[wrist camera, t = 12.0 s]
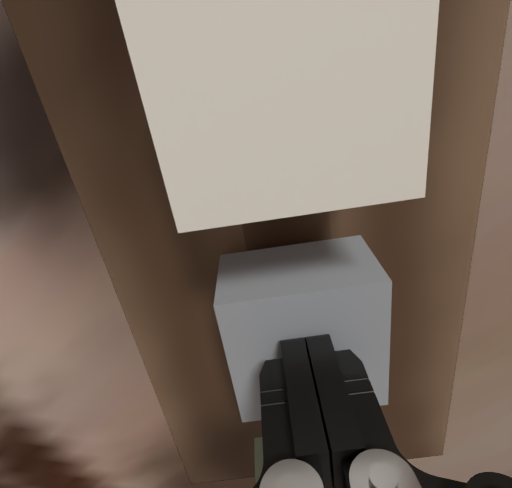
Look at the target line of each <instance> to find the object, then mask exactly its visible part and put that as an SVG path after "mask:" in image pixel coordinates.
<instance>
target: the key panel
mask: <svg viewBox="0 0 512 488" xmlns="http://www.w3.org/2000/svg"><path fill="white" fill-rule="evenodd" d="M2 3H3V5H4V8H5V11H6V13H7V16H8V18H9V21H10V23H11V26H12V28H13V31H14V33H15V36H16V39H17V41H18V44H19V46H20V49H21V51H22V54H23V56H24V59H25V62H26V64H27V67H28V69H29V72H30V74H31V77H32V79H33V82H34V84H35V87H36V90H37V92H38V95H39V97H40V100H41V102H42V105H43V107H44V110H45V112H46V115H47V118H48V120H49V123H50V125H51V128H52V130H53V133H54V135H55V138H56V141H57V143H58V146H59V148H60V151H61V153H62V156H63V158H64V161H65V163H66V166H67V169H68V171H69V174H70V176H71V179H72V181H73V184H74V186H75V189H76V191H77V194H78V197H79V199H80V202H81V204H82V207H83V209H84V212H85V214H86V217H87V220H88V222H89V225H90V227H91V230H92V232H93V235H94V237H95V240H96V242H97V245H98V248H99V250H100V253H101V255H102V258H103V260H104V263H105V265H106V268H107V270H108V273H109V276H110V278H111V281H112V283H113V286H114V288H115V291H116V293H117V296H118V299H119V301H120V304H121V306H122V309H123V311H124V314H125V316H126V319H127V321H128V324H129V327H130V329H131V332H132V334H133V337H134V339H135V342H136V344H137V347H138V349H139V352H140V355H141V357H142V360H143V362H144V365H145V367H146V370H147V372H148V375H149V378H150V380H151V383H152V385H153V388H154V390H155V393H156V395H157V398H158V400H159V403H160V406H161V408H162V411H163V413H164V416H165V418H166V421H167V423H168V426H169V428H170V431H171V434H172V436H173V439H174V441H175V444H176V446H177V449H178V451H179V454H180V457H181V459H182V462H183V464H184V467H185V469H186V472H187V474H188V477H189V479H190V482H191V484H196V483H204V482H213V481H222V480H231V479H239V478H248V477H255V452H254V438H259V437H262V422H261V420H259V421H251V422H242V419H241V415H240V411H239V407H238V403H237V399H236V395H235V391H234V387H233V383H232V379H231V375H230V371H229V367H228V363H227V359H226V355H225V351H224V347H223V343H222V339H221V335H220V330H219V326H218V322H217V318H216V314H215V310H214V306H213V305H214V298H215V290H216V283H217V275H218V268H219V260H220V255H224V254H231V253H238V252H245V251H252V250H259V249H266V248H273V247H280V246H287V245H294V244H301V243H308V242H315V241H322V240H329V239H336V238H343V237H350V236H357V235H361V236H362V238H363V239H364V241H365V242H366V244H367V245H368V247H369V248H370V250H371V251H372V253H373V254H374V256H375V257H376V259H377V260H378V261H379V263H380V264H381V266H382V267H383V269H384V270H385V272H386V273H387V275H388V276H389V278H390V279H391V281H392V301H391V332H390V362H389V392H388V405H382V406H380V407H381V410H382V412H383V415H384V417H385V420H386V422H387V425H388V427H389V430H390V432H391V435H392V437H393V440H394V442H395V444H396V446H397V448H398V450H399V451H400V453H401V454H402V455H403V457H404V458H405V459H413V458H422V457H430V456H439V455H443V450H444V443H445V436H446V429H447V423H448V416H449V409H450V402H451V396H452V389H453V382H454V376H455V369H456V362H457V355H458V349H459V342H460V335H461V329H462V322H463V315H464V308H465V302H466V295H467V288H468V281H469V275H470V268H471V261H472V255H473V248H474V241H475V234H476V228H477V221H478V214H479V208H480V201H481V194H482V187H483V181H484V174H485V167H486V160H487V154H488V147H489V140H490V134H491V127H492V120H493V113H494V107H495V100H496V93H497V87H498V80H499V73H500V66H501V60H502V53H503V46H504V39H505V33H506V26H507V19H508V13H509V6H510V0H440V1H439V14H438V28H437V41H436V55H435V69H434V82H433V96H432V109H431V123H430V137H429V150H428V164H427V178H426V191H425V197H424V198H417V199H410V200H404V201H397V202H390V203H383V204H376V205H369V206H362V207H355V208H349V209H342V210H335V211H328V212H321V213H314V214H307V215H300V216H294V217H287V218H280V219H273V220H266V221H259V222H252V223H245V224H239V225H232V226H225V227H218V228H211V229H204V230H197V231H191V232H184V233H178V231H177V228H176V224H175V220H174V217H173V213H172V209H171V206H170V202H169V198H168V195H167V191H166V187H165V183H164V180H163V176H162V172H161V169H160V165H159V161H158V158H157V154H156V150H155V147H154V143H153V139H152V136H151V132H150V128H149V125H148V121H147V117H146V114H145V110H144V106H143V103H142V99H141V95H140V92H139V88H138V84H137V81H136V77H135V73H134V70H133V66H132V62H131V58H130V55H129V51H128V47H127V44H126V40H125V36H124V33H123V29H122V25H121V22H120V18H119V14H118V11H117V7H116V3H115V0H2Z"/></svg>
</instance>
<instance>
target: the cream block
mask: <svg viewBox="0 0 512 488" xmlns="http://www.w3.org/2000/svg"><path fill="white" fill-rule="evenodd" d="M439 1H440V0H115V3H116V7H117V11H118V14H119V18H120V22H121V25H122V29H123V33H124V36H125V40H126V44H127V47H128V51H129V55H130V58H131V62H132V66H133V70H134V73H135V77H136V81H137V84H138V88H139V92H140V95H141V99H142V103H143V106H144V110H145V114H146V117H147V121H148V125H149V128H150V132H151V136H152V139H153V143H154V147H155V150H156V154H157V158H158V161H159V165H160V169H161V172H162V176H163V180H164V183H165V187H166V191H167V195H168V198H169V202H170V206H171V209H172V213H173V217H174V220H175V224H176V228H177V231H178V233H184V232H191V231H197V230H204V229H211V228H218V227H225V226H232V225H239V224H245V223H252V222H259V221H266V220H273V219H280V218H287V217H294V216H300V215H307V214H314V213H321V212H328V211H335V210H342V209H349V208H355V207H362V206H369V205H376V204H383V203H390V202H397V201H404V200H410V199H417V198H424V197H425V191H426V178H427V164H428V150H429V137H430V123H431V109H432V96H433V82H434V69H435V55H436V41H437V28H438V14H439Z"/></svg>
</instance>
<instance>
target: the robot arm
mask: <svg viewBox="0 0 512 488" xmlns="http://www.w3.org/2000/svg"><path fill="white" fill-rule="evenodd" d="M305 341H306V345H305ZM305 341H304V337H302V338H294V339H287V340H280V342H281V350H282V358H279V359H272V360H265V362H264V365H263V367H262V369H261V372H260V374H259V381H260V402H261V422H262V443H263V468H262V472H261V475H260V478H259V480H258V482H257V483H256V485H255V486H254V488H512V478H511V477H509V476H506V475H503V474H500V473H495V472H483V473H479V474H476V475H474V476H473V477H472V478H470V480H469V481H468V482H467V483H464V482H459V481H455V480H450V479H445V478H441V477H437V476H433V475H430V474H427V473H425V472H423V471H421V470H419V469H417V468H416V467H415V466H413V465H412V464H410V463H409V462H408V461H407V460H406V459H405V458H404V457H403V455H402V454H401V453H400V451H399V450H398V448H397V446H396V444H395V442H394V440H393V437H392V435H391V432H390V430H389V427H388V425H387V422H386V420H385V417H384V415H383V412H382V410H381V407H380V405H379V402H378V400H377V397H376V395H375V393H374V390H373V387H372V385H371V382H370V380H369V378H368V375H367V372H366V370H365V367H364V365H363V362H362V361H361V360H360V359H359V358H358V357H357V356H356V355H355V354H354V353H353V352H352V351H351V350H350V349H348V350H340V351H335V350H334V347H333V343H332V340H331V337H330V335H329V334H324V335H316V336H308V337H305Z"/></svg>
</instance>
